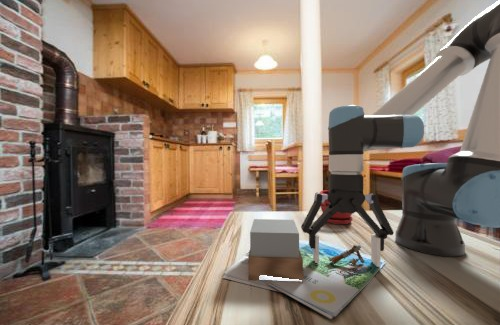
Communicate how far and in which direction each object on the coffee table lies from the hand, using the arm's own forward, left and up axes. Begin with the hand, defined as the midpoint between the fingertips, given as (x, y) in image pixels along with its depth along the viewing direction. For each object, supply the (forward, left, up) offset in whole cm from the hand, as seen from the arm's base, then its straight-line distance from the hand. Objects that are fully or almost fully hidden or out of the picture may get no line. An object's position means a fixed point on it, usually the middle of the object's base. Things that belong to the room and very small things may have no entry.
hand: (345, 263), depth 50 cm
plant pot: (-9, -36, 0) cm, 37 cm away
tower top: (+17, +3, +4) cm, 18 cm away
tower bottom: (+17, +3, -1) cm, 17 cm away
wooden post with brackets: (0, 0, -1) cm, 1 cm away
